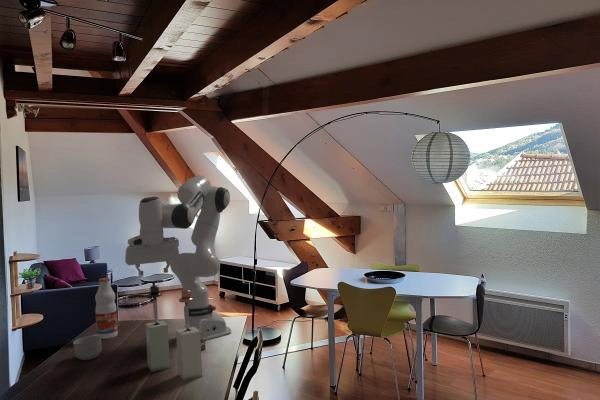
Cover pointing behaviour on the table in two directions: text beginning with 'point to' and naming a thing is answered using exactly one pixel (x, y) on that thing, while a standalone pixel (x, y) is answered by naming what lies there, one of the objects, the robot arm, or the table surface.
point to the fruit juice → (106, 310)
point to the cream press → (189, 353)
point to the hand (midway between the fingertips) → (153, 274)
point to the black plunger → (155, 300)
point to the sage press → (157, 346)
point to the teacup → (87, 347)
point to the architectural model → (202, 341)
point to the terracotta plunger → (186, 305)
